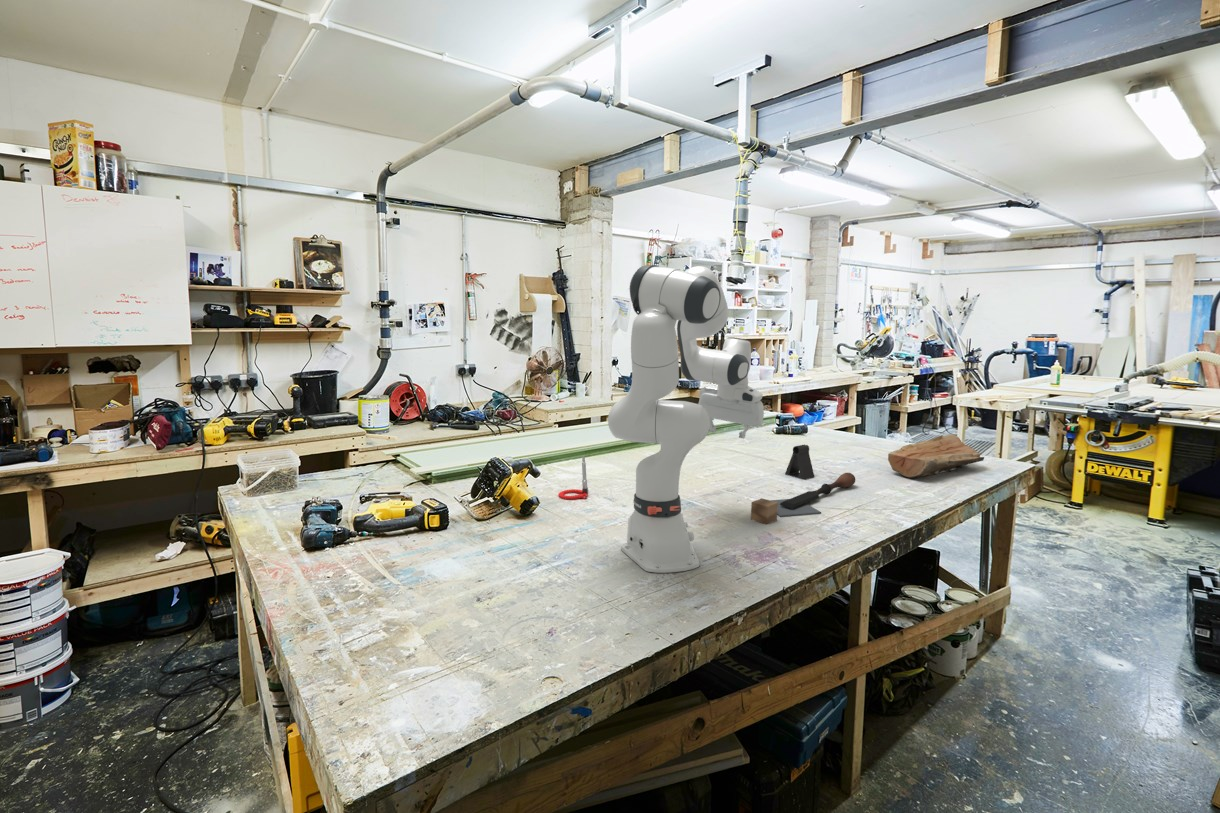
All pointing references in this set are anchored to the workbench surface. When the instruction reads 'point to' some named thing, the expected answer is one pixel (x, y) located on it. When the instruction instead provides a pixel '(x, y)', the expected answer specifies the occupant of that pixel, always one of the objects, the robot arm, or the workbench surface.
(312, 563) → the workbench surface
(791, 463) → the phone stand
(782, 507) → the charcoal mat
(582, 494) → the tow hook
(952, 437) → the log
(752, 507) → the walnut block
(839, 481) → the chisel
